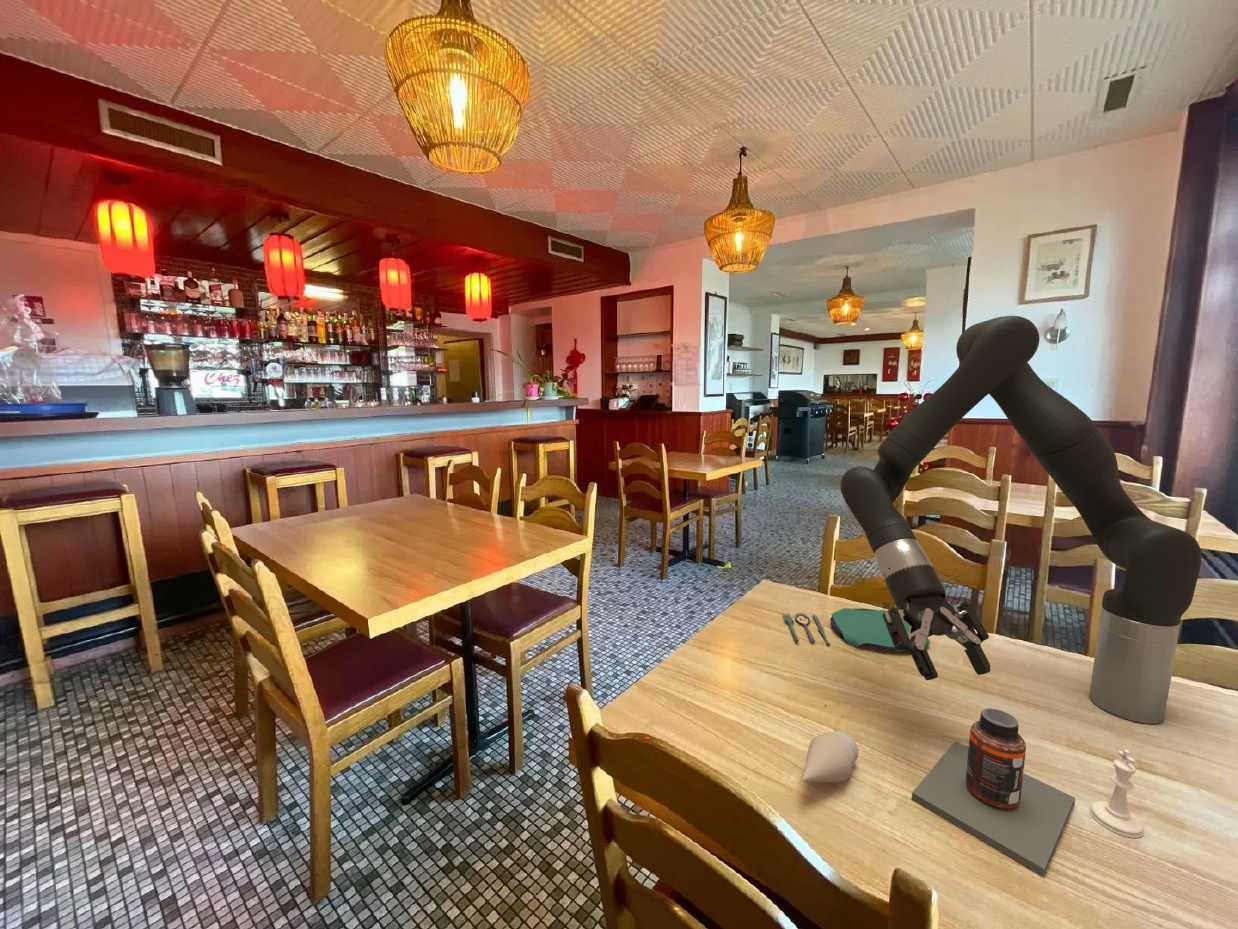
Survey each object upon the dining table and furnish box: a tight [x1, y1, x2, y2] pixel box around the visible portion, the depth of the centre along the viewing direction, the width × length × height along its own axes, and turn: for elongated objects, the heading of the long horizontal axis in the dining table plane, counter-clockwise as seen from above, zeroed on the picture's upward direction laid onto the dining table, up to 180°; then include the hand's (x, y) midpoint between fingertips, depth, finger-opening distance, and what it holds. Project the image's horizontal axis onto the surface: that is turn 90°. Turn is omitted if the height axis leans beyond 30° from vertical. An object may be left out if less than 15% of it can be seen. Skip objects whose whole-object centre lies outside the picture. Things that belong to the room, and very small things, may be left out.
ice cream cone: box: [801, 730, 859, 783], centre depth 70 cm, size 6×6×15 cm
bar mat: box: [911, 740, 1076, 877], centre depth 67 cm, size 16×14×1 cm
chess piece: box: [1089, 749, 1145, 839], centre depth 63 cm, size 5×5×10 cm
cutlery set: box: [782, 607, 930, 652], centre depth 114 cm, size 20×30×2 cm, turn 81°
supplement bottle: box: [966, 708, 1027, 809], centre depth 66 cm, size 6×6×11 cm
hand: (958, 676), depth 72 cm, fingers open, 8 cm apart
